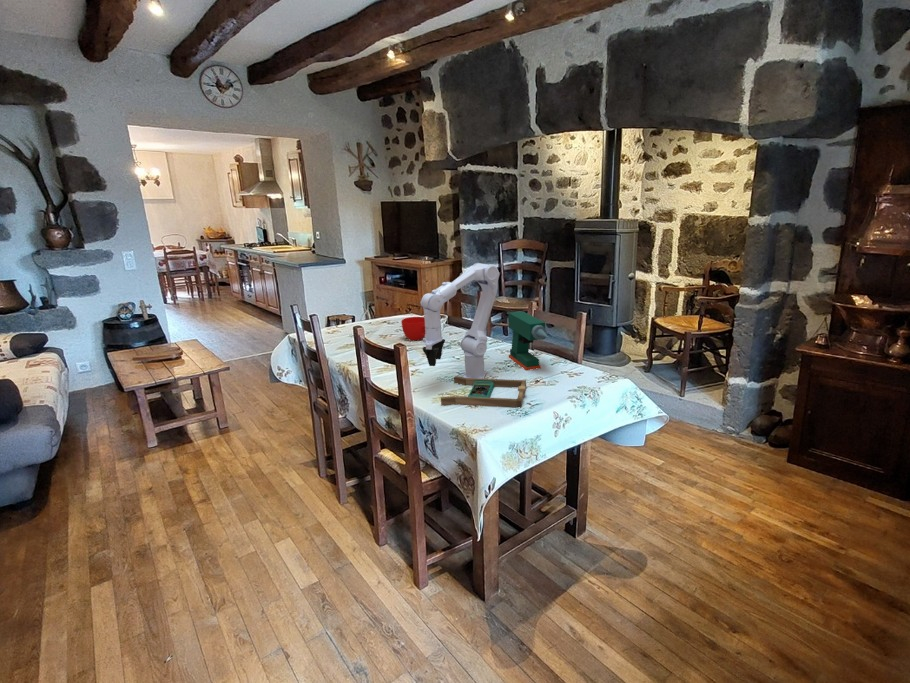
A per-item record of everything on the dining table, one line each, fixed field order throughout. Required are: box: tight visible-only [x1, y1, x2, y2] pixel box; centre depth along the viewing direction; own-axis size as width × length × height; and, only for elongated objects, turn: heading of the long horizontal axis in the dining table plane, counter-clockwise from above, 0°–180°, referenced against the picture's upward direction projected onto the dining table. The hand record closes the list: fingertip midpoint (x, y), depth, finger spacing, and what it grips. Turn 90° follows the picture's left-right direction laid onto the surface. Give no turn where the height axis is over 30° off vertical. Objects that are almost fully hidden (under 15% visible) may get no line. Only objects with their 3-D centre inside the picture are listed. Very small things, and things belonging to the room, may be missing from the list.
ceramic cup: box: [400, 316, 426, 341], centre depth 246 cm, size 13×17×10 cm
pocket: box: [440, 375, 527, 409], centre depth 175 cm, size 22×28×3 cm
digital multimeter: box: [467, 381, 495, 398], centre depth 176 cm, size 7×15×3 cm, turn 168°
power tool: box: [507, 310, 550, 371], centre depth 198 cm, size 32×7×20 cm, turn 16°
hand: (435, 362), depth 182 cm, fingers open, 7 cm apart
